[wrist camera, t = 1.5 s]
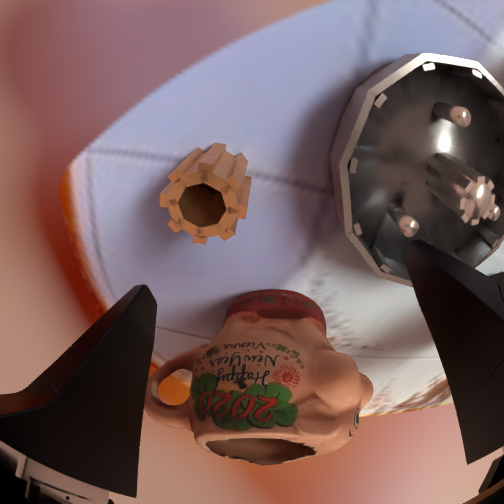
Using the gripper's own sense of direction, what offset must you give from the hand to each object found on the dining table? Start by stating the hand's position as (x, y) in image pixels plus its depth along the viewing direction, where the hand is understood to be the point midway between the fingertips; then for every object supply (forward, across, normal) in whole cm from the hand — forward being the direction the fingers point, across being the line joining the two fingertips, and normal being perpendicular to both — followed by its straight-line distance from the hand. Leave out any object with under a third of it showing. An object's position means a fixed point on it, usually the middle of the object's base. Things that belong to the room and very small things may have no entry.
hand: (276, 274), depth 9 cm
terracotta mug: (+12, +4, +16) cm, 20 cm away
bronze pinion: (+12, +4, 0) cm, 13 cm away
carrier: (+12, -13, +2) cm, 18 cm away
